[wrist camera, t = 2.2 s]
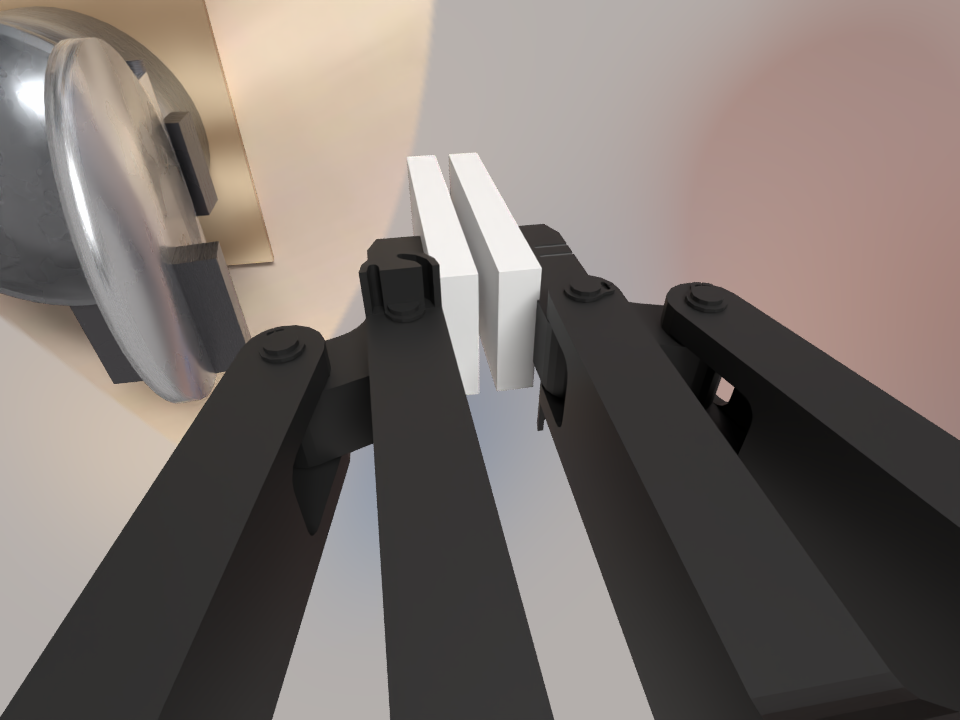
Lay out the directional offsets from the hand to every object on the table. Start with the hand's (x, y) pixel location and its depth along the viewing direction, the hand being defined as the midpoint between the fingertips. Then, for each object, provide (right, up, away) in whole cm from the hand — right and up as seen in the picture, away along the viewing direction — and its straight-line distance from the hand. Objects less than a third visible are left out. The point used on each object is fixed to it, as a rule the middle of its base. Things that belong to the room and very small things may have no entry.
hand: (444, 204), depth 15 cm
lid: (-13, +1, +8) cm, 16 cm away
